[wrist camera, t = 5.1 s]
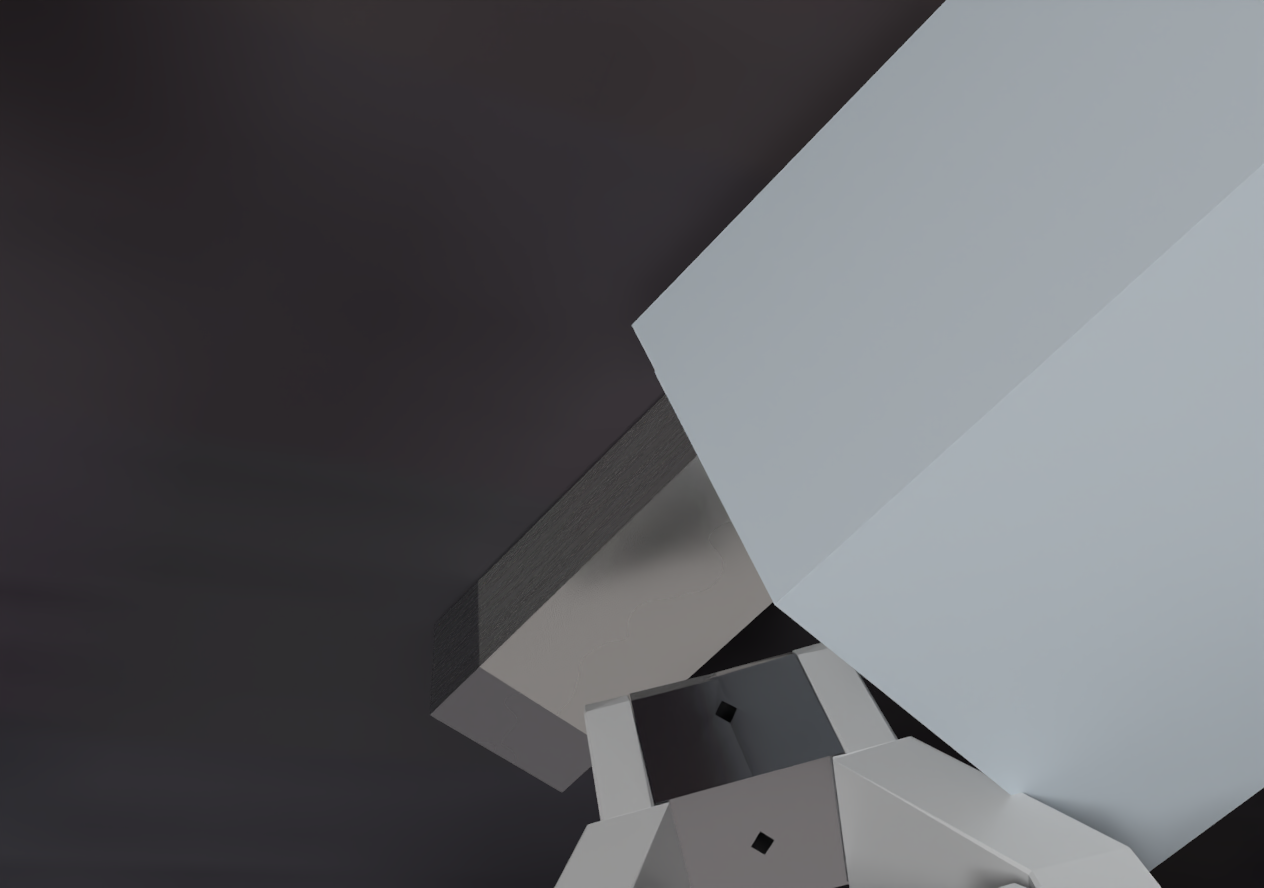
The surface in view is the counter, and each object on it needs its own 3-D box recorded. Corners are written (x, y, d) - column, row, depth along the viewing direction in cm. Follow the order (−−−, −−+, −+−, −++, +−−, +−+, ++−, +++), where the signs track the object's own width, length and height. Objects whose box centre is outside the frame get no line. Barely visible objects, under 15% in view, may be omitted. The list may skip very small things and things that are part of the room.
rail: (550, 698, 15) (561, 792, 13) (434, 624, 14) (430, 715, 12) (1573, -261, 11) (1784, -313, 9) (1513, -454, 10) (1735, -552, 8)
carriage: (859, 533, 14) (1126, 888, 8) (628, 322, 12) (775, 604, 6) (1181, 242, 13) (1750, 428, 7) (985, -47, 11) (1566, -109, 5)
